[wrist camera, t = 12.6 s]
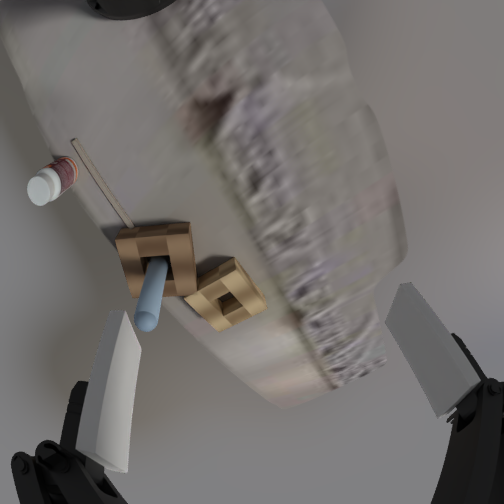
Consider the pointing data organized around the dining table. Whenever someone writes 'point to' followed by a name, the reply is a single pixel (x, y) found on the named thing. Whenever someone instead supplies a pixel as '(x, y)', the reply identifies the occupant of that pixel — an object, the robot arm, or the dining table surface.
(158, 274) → the blue-grey peg
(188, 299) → the light wood square frame
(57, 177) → the pill bottle
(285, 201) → the dining table surface
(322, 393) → the dining table surface
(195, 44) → the dining table surface
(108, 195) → the thin wooden stick
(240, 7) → the dining table surface
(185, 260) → the square wooden ring
